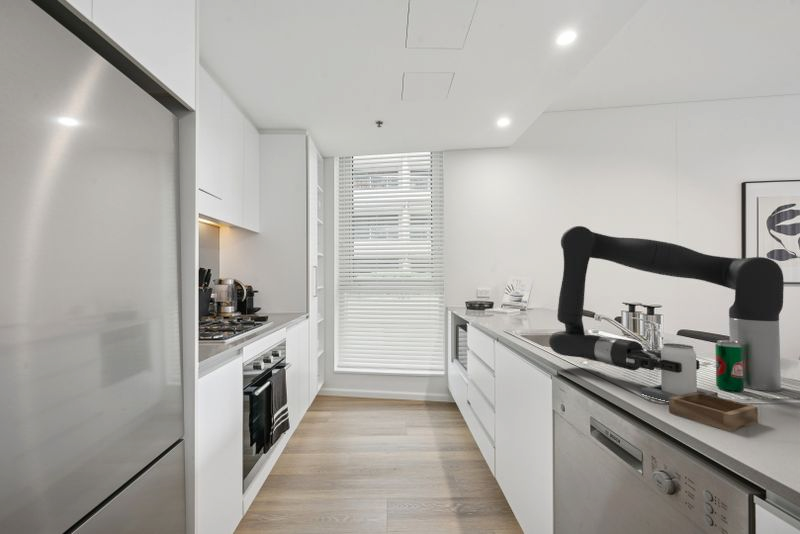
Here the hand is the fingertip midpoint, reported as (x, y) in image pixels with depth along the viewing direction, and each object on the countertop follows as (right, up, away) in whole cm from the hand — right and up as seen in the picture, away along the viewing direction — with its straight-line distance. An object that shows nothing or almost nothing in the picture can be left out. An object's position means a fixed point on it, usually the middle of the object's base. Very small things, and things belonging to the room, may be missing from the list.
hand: (689, 366), depth 80 cm
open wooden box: (-4, -7, -10) cm, 13 cm away
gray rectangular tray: (-1, -8, +2) cm, 8 cm away
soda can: (+17, -8, +8) cm, 20 cm away
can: (-1, -8, +2) cm, 8 cm away
